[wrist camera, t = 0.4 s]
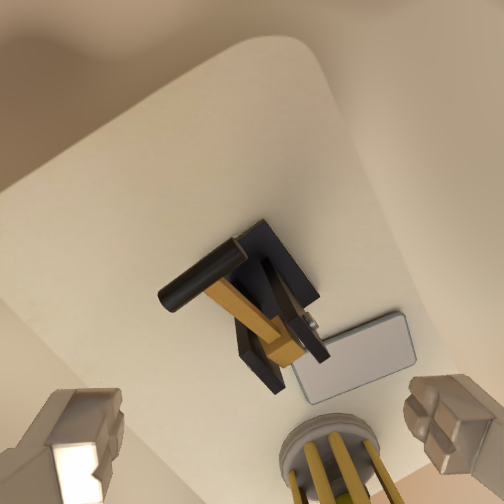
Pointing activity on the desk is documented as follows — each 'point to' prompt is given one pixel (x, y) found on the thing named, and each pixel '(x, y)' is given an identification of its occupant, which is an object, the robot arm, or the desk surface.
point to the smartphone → (357, 358)
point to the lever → (232, 301)
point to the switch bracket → (273, 300)
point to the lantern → (334, 461)
